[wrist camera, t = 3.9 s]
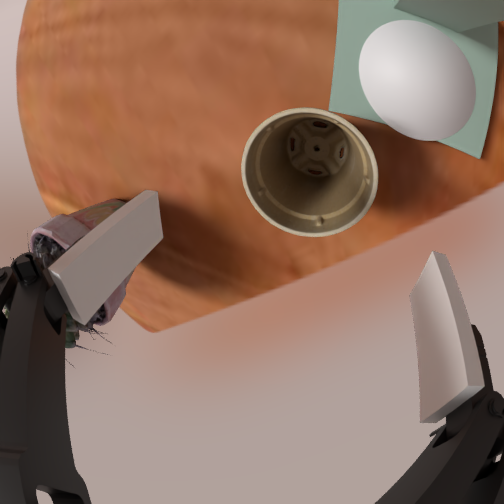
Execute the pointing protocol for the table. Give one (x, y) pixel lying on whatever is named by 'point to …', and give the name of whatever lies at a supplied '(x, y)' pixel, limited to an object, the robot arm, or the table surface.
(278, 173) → the flower pot
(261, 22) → the table surface
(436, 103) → the press
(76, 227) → the potted plant
